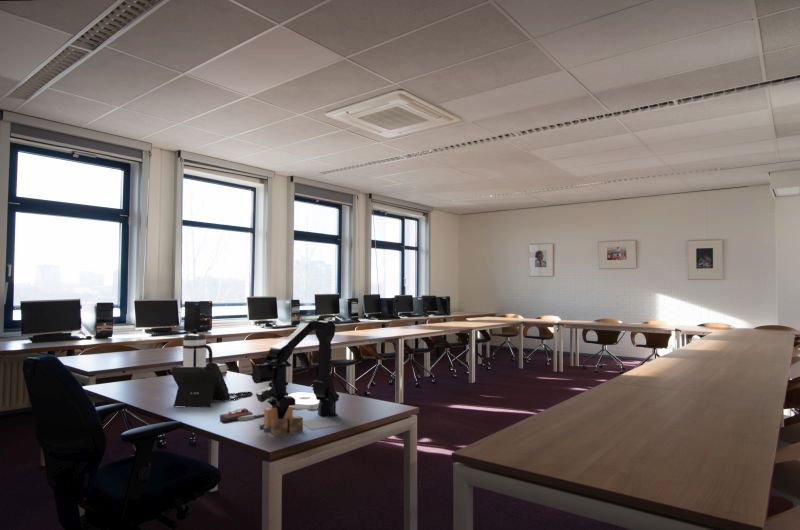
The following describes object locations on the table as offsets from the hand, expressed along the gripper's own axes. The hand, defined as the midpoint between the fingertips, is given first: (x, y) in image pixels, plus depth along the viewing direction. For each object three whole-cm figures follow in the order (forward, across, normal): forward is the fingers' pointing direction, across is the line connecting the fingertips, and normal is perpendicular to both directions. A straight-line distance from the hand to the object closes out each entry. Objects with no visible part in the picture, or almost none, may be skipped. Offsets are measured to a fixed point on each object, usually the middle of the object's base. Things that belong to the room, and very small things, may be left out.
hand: (278, 420), depth 188 cm
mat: (+3, +4, +15) cm, 16 cm away
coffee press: (+3, -120, -4) cm, 120 cm away
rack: (+3, +3, 0) cm, 4 cm away
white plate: (+4, -33, +25) cm, 42 cm away
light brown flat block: (+2, 0, 0) cm, 2 cm away
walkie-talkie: (+4, -22, -6) cm, 23 cm away
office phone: (+4, -64, -8) cm, 65 cm away
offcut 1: (+2, +8, -3) cm, 9 cm away
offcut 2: (+2, +8, +3) cm, 9 cm away
